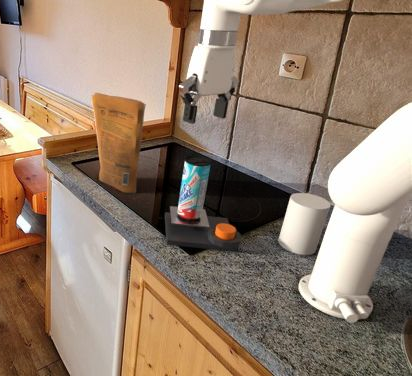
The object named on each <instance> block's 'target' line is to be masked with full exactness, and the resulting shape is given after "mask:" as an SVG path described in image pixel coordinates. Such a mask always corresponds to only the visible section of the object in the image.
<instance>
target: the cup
mask: <svg viewBox="0 0 412 376" xmlns="http://www.w3.org/2000/svg"><path fill="white" fill-rule="evenodd" d="M330 208H331V202H330V201H328V200H327V199H326V198H324V197H321V196H319V195H316V194H313V193H312V194H311V193H306V192H296V193H295V192H294V193H292V194H291V195H290V197H289V201H288V204H287V208H286V212H285V215H284V217H283V222H282V226H281V229H280V233H279V236H278V240H277V241H278V244H279V245H280V247H282V248H283V249H285V250H286V251H289V252H291V253H293V254H297V255H300V256H309V255H310V256H311V255H313V254H315V253H316V251H317V248H318V245H319V242H320V239H321V236H322V233H323V230H324V227H325V224H326V221H327V217H328V214H329V211H330Z"/></svg>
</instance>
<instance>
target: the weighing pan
mask: <svg viewBox="0 0 412 376" xmlns="http://www.w3.org/2000/svg"><path fill="white" fill-rule="evenodd" d="M169 213H170V214H171V224H174V225H184V226H194V227H204V228H209V227H210V226H209V223H208V219H207V216H208V215H207V212H206V209H205V208H203V210H202V215H201V217H200V219H198V220H194V221H190V220H185V219H183V218H181V217H180V216H179V215H178V206H173V205H169Z"/></svg>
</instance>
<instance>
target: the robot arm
mask: <svg viewBox="0 0 412 376" xmlns="http://www.w3.org/2000/svg"><path fill="white" fill-rule="evenodd" d="M343 1H344V0H203V5H202V12H201V13H202V14H201V19H200V28H199V35H198V42H197V45H195V46H194V48H193V51H192V55H191V57H190V61H189V66H188V70H187V74H186V79H185V80H184V81H182V82H181V83H180V84H179V85H178V89H179V93H180V98H181V100H182V103H183V104H184V106H183V107H184V109H183V115H182V121H183V122H184V123H188V124H191V125H194V124H196V119H197V114H198V109H199V107H198V105H196V104H197V103H198V102H199V100H200V99H201V98H202V97H209V96H217V98H215V102H214V108H213V116H214V117H216V118H220V119H222V120H223V119H226V118H227V113H228V109H229V103H230V101H231V100H232V96H233V95H234V93H235V92H236V89H237V86H238V85H239V83H240V79H239V78H237V77H236V76H235V67H236V54H237V53H236V52H237V50H236V44H237V39H238V34H239V29H240V22H241V17H242V14H244V15H249V16H263V15H265V16H266V15H271V16H272V15H273V16H274V15H282V14H285V13H291V12H296V11H301V10H305V9H310V8H314V7H318V6H323V5H326V4H330V3H331V4H332V3H337V2H343ZM327 192H328V195H329V197H330V200H331V201H332V203H333V204H334V206H333V209H332V211H331V215H330V218H329V221H328V223H327V227H326V229H325V233H324V235H323V238H322V240H321V245H320V248H319V250H318V253H317V257H316V260H315V263H314V265H313V269H312V271H311V274H305V275H304V276H302V278H301V279H299V283H298V291H299V293H300V295H301V296H302V298H303V299H304V300H305V301H306V302H307V303H308V304H309V305H311V306H312V307H314V308H315V309H317V310H318V311H321V312H322V313H324V314H327V315H329V316H332V317H335V318H338V319H344V320H345V321H346V322H347V323H350V324H355V323H356V322H357V321H358V320H365V319H366V320H367V319H368V318H369V316H370V315H371V314H372V311H373V309H374V303H373V301H372V299H371V297H370V296H369V295H368V294H369V291H370V289H371V287H372V284H373V282H374V280H375V277H376V275H377V272H378V270H379V267H380V266H381V262H382V260H383V258H384V255H385V253H386V250H387V248H388V245H389V243H390V241H391V240H392V237H393V235H394V232H395V230H396V227H397V225H398V223H399V221H400V219H401V216H402V214H403V212H404V210H405V208H406V206H407V204H408V202H409V199H410V198H411V196H412V101H411V102H409V103H406V104H405V105H404V106H401V108H399V109H397V110H396V111H395V112H394V113H392V114H391V115H390V116H389V117H388V118H386V119H385V120H384V121H383V122H382V123H381V124H380V125H379V126H378V127H376V129H375V130H373V131H372V132H371V133H370V134H369V135H368V136H367V137H366V138H365V139H364V140H362V141H361V142H360V143H359V144H358V145H357V146H356V147H355V148H354V149H353V150H351V152H350V153H349V154H347V155H346V156H345V157H344V158H343V159H342V160H341V161H340V162H338V163H337V164H336V166H335V167H334V168H333V170H332V171H331V172H330V174H329V177H328V180H327Z"/></svg>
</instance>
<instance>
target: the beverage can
mask: <svg viewBox="0 0 412 376" xmlns="http://www.w3.org/2000/svg"><path fill="white" fill-rule="evenodd" d="M211 164H212V161H211V160H210V159H209V158H207V157H204V156H199V155H189V156H186V157H185V158H184V165H183V170H182V171H183V172H182V177H181V183H180V184H181V185H180V190H179V191H180V192H179V198H178V205H177V207H178V215H179V216H180V217H181V218H183V219H185V220H190V221H194V220H198V219H200V217H201V215H202V210H203V209H204V203H205V198H206V193H207V187H208V182H209V177H210V176H209V175H210V170H211Z"/></svg>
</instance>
